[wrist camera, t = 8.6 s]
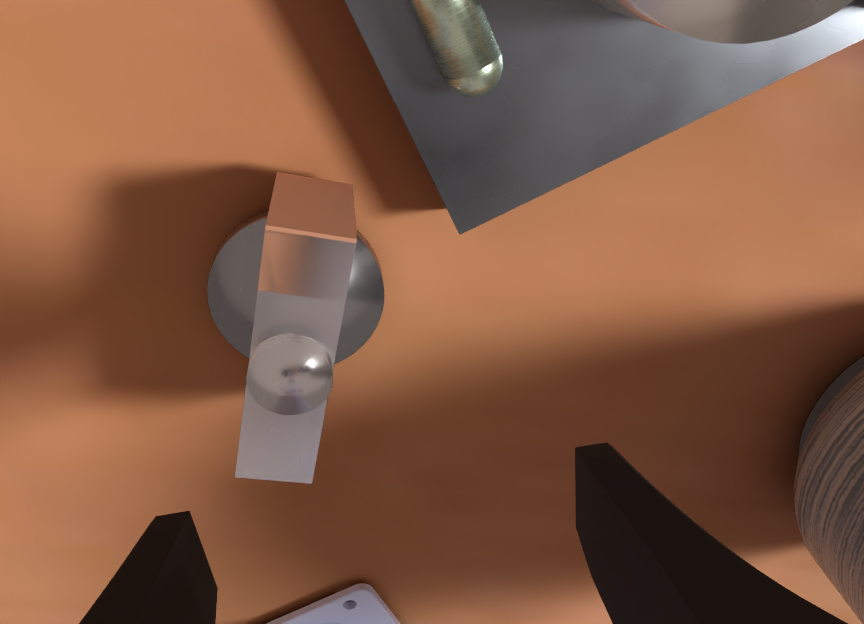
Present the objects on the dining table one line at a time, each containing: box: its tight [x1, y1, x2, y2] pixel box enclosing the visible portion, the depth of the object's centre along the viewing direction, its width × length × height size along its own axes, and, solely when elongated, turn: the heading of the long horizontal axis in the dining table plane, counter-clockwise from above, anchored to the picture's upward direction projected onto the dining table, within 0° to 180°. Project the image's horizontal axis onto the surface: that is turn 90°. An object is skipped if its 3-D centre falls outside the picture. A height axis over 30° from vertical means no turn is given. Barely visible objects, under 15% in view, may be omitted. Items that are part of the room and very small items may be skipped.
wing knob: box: [207, 172, 384, 484], centre depth 19 cm, size 7×5×5 cm
